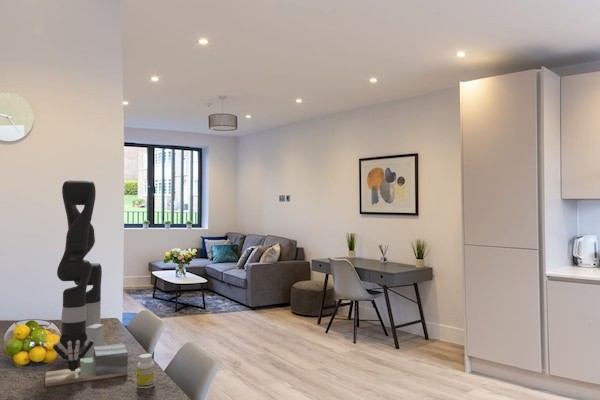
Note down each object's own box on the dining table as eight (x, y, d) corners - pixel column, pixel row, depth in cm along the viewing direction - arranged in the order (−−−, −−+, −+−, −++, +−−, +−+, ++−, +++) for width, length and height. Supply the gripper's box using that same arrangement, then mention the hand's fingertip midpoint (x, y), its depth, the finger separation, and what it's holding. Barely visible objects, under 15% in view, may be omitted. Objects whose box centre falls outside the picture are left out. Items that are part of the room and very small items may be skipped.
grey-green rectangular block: (80, 370, 165) (80, 358, 165) (121, 364, 171) (121, 353, 171) (80, 375, 160) (80, 363, 160) (123, 369, 166) (123, 358, 166)
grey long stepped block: (45, 374, 163) (46, 352, 163) (123, 364, 174) (123, 343, 174) (44, 386, 152) (45, 362, 152) (127, 374, 164) (127, 352, 164)
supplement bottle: (139, 382, 156) (139, 352, 156) (156, 382, 157) (156, 352, 157) (134, 389, 151) (135, 358, 151) (152, 388, 151) (152, 357, 151)
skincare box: (94, 360, 179) (94, 328, 179) (84, 359, 179) (84, 327, 180) (104, 355, 184) (104, 324, 185) (94, 354, 185) (94, 323, 185)
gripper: (51, 323, 155) (50, 377, 155) (95, 319, 161) (94, 371, 161) (52, 318, 162) (51, 369, 162) (94, 315, 168) (93, 364, 168)
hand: (73, 370), depth 161 cm, fingers closed
